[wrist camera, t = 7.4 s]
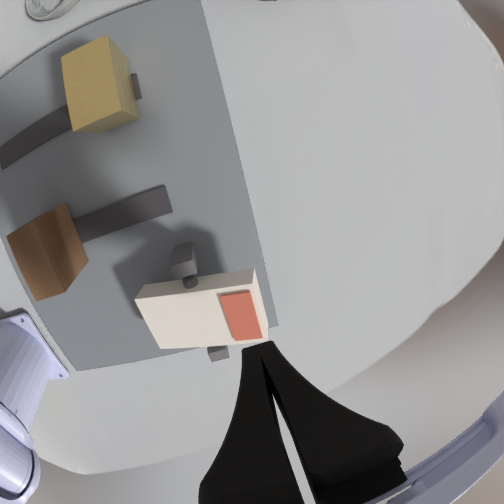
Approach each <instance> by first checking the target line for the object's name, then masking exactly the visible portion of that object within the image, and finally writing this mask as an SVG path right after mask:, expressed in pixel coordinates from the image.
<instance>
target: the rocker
mask: <svg viewBox="0 0 504 504" xmlns="http://www.w3.org/2000/svg"><path fill="white" fill-rule="evenodd" d="M134 300H135V302H136V304H137V306H138V308H139V310H140V312H141V314H142V316H143V318H144V320H145V322H146V324H147V325H148V327H149V329H150V331H151V333H152V335H153V337H154V338H155V340H156V342H157V344H158V345H159V347H160V349H173V348H194V347H209V346H222V345H234V344H244V343H253V342H262V341H268V321H267V317H266V313H265V309H264V305H263V301H262V297H261V293H260V289H259V285H258V281H257V277H256V273H255V269H254V268H250V269H244V270H238V271H232V272H225V273H219V274H213V275H206V276H200V277H196V276H195V275H190V276H186V277H184V278H183V279H180V280H174V281H167V282H160V283H153V284H146V285H144V286H143V287H142V289H141V290H140V292H139V293H138V295H137V296H136V297H135V299H134Z"/></svg>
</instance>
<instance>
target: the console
mask: <svg viewBox="0 0 504 504" xmlns="http://www.w3.org/2000/svg"><path fill="white" fill-rule="evenodd" d="M105 35H108V36H109V37H110V38H111V39H112V40H113V41H114V43H115V44H116V45H117V46H118V47H119V48H120V50H121V51H122V52H123V53H124V54H125V55H126V57H127V58H128V62H129V68H130V73H131V78H132V82H133V87H134V92H135V96H136V101H137V105H138V109H139V113H140V119H137V120H135V121H132V122H129V123H127V124H124V125H121V126H119V127H116V128H114V129H111V130H109V131H107V132H104V133H89V132H73V129H72V124H71V120H70V115H69V109H68V104H67V98H66V92H65V86H64V79H63V71H62V62H61V57H62V56H64V55H66V54H68V53H69V52H71V51H73V50H75V49H77V48H79V47H81V46H83V45H85V44H87V43H89V42H92V41H94V40H96V39H98V38H101V37H103V36H105ZM64 203H67V206H68V209H69V212H70V214H71V217H72V220H73V223H74V225H75V228H76V231H77V233H78V236H79V238H80V241H81V243H82V246H83V248H84V250H85V253H86V255H87V257H88V260H89V262H88V263H87V264H86V265H85V267H84V268H83V269H82V271H81V272H80V273H79V275H78V276H77V277H76V279H75V280H74V281H73V283H72V284H71V285H70V287H69V288H68V289H67V291H66V292H65V293H62V294H59V295H56V296H52V297H49V298H46V299H43V300H40V301H37V302H36V300H35V298H34V296H33V294H32V293H31V291H30V289H29V287H28V285H27V283H26V281H25V279H24V277H23V275H22V273H21V270H20V268H19V266H18V264H17V262H16V259H15V257H14V255H13V252H12V250H11V248H10V245H9V243H8V240H7V238H6V236H7V235H9V234H10V233H12V232H13V231H15V230H16V229H18V228H20V227H21V226H23V225H24V224H26V223H28V222H29V221H31V220H33V219H34V218H36V217H38V216H39V215H41V214H43V213H45V212H47V211H49V210H52V209H54V208H56V207H58V206H60V205H62V204H64ZM0 236H1V239H2V241H3V244H4V246H5V249H6V251H7V254H8V256H9V258H10V261H11V263H12V265H13V267H14V270H15V272H16V274H17V276H18V278H19V280H20V282H21V284H22V286H23V288H24V290H25V292H26V294H27V296H28V297H29V299H30V301H31V303H32V305H33V306H34V308H35V310H36V312H37V313H38V315H39V317H40V318H41V320H42V322H43V323H44V325H45V327H46V328H47V330H48V331H49V333H50V334H51V336H52V337H53V339H54V340H55V342H56V343H57V345H58V346H59V348H60V349H61V351H62V352H63V353H64V355H65V356H66V358H67V359H68V360H69V362H70V363H71V364H72V366H73V367H74V368H75V370H76V371H82V370H89V369H96V368H102V367H108V366H114V365H120V364H125V363H131V362H136V361H141V360H146V359H151V358H156V357H161V356H165V355H170V354H174V353H179V352H183V351H187V350H191V349H196V348H200V347H194V348H173V349H160V347H159V345H158V344H157V342H156V340H155V338H154V337H153V335H152V333H151V331H150V329H149V327H148V325H147V324H146V322H145V320H144V318H143V316H142V314H141V312H140V310H139V308H138V306H137V304H136V302H135V300H134V299H135V297H136V296H137V295H138V293H139V292H140V290H141V289H142V287H143V286H144V285H146V284H153V283H160V282H167V281H174V280H180V279H183V278H184V277H186V276H190V275H195V276H196V277H200V276H206V275H213V274H219V273H225V272H232V271H238V270H244V269H250V268H254V269H255V273H256V277H257V281H258V285H259V289H260V293H261V297H262V301H263V305H264V309H265V313H266V317H267V321H268V328H271V327H274V326H278V321H277V317H276V312H275V308H274V303H273V299H272V294H271V290H270V285H269V281H268V277H267V272H266V268H265V264H264V259H263V255H262V250H261V246H260V242H259V237H258V233H257V229H256V224H255V220H254V216H253V212H252V207H251V203H250V199H249V195H248V190H247V186H246V182H245V178H244V173H243V169H242V165H241V161H240V157H239V153H238V148H237V144H236V140H235V136H234V132H233V128H232V124H231V120H230V115H229V111H228V107H227V103H226V99H225V95H224V91H223V87H222V83H221V79H220V75H219V71H218V67H217V63H216V59H215V55H214V51H213V47H212V43H211V39H210V35H209V31H208V28H207V24H206V20H205V16H204V12H203V8H202V4H201V0H151V1H148V2H145V3H142V4H139V5H136V6H133V7H130V8H127V9H124V10H121V11H119V12H116V13H114V14H111V15H109V16H106V17H104V18H101V19H99V20H97V21H95V22H92V23H90V24H88V25H86V26H84V27H82V28H80V29H78V30H76V31H74V32H72V33H70V34H68V35H66V36H64V37H63V38H61V39H59V40H57V41H55V42H54V43H52V44H50V45H49V46H47V47H45V48H44V49H42V50H41V51H39V52H37V53H36V54H34V55H33V56H31V57H30V58H28V59H27V60H25V61H24V62H23V63H21V64H20V65H18V66H17V67H16V68H14V69H13V70H12V71H10V72H9V73H8V74H6V75H5V76H4V77H3V78H1V79H0ZM207 349H208V355H209V357H210V359H211V361H212V362H214V361H218V360H222V359H226V358H229V352H228V347H227V345H222V346H209V347H207Z"/></svg>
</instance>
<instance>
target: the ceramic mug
mask: <svg viewBox="0 0 504 504" xmlns="http://www.w3.org/2000/svg"><path fill="white" fill-rule="evenodd" d="M78 1H79V0H63V1H62V2H61V4H60V5H59V6H58V7H57V8H56V9H54V10H53V11H48V10H46V9H44V7H43V6H40V0H26V9H27V12H28V14H29V15H30V16H31V17H32V18H34V19H36V20H51V19H56V18H59V17H61V16H62V15H64V14H66V13H67V12H69V11H70V10H71V9H72V8H73V7H74V6H75V5H76V4H77V3H78Z"/></svg>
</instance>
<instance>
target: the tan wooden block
mask: <svg viewBox="0 0 504 504" xmlns="http://www.w3.org/2000/svg"><path fill="white" fill-rule="evenodd" d="M61 62H62V71H63V79H64V86H65V92H66V98H67V104H68V109H69V115H70V120H71V124H72V129H73V132H89V133H104V132H107V131H109V130H111V129H114V128H116V127H119V126H121V125H124V124H127V123H129V122H132V121H135V120H137V119H140V113H139V109H138V105H137V101H136V96H135V92H134V87H133V82H132V78H131V73H130V68H129V62H128V58H127V57H126V55H125V54H124V53H123V52H122V51H121V50H120V48H119V47H118V46H117V45H116V44H115V43H114V41H113V40H112V39H111V38H110V37H109V36H108V35H105V36H103V37H101V38H98V39H96V40H94V41H92V42H89V43H87V44H85V45H83V46H81V47H79V48H77V49H75V50H73V51H71V52H69V53H68V54H66V55H64V56H62V57H61Z"/></svg>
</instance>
